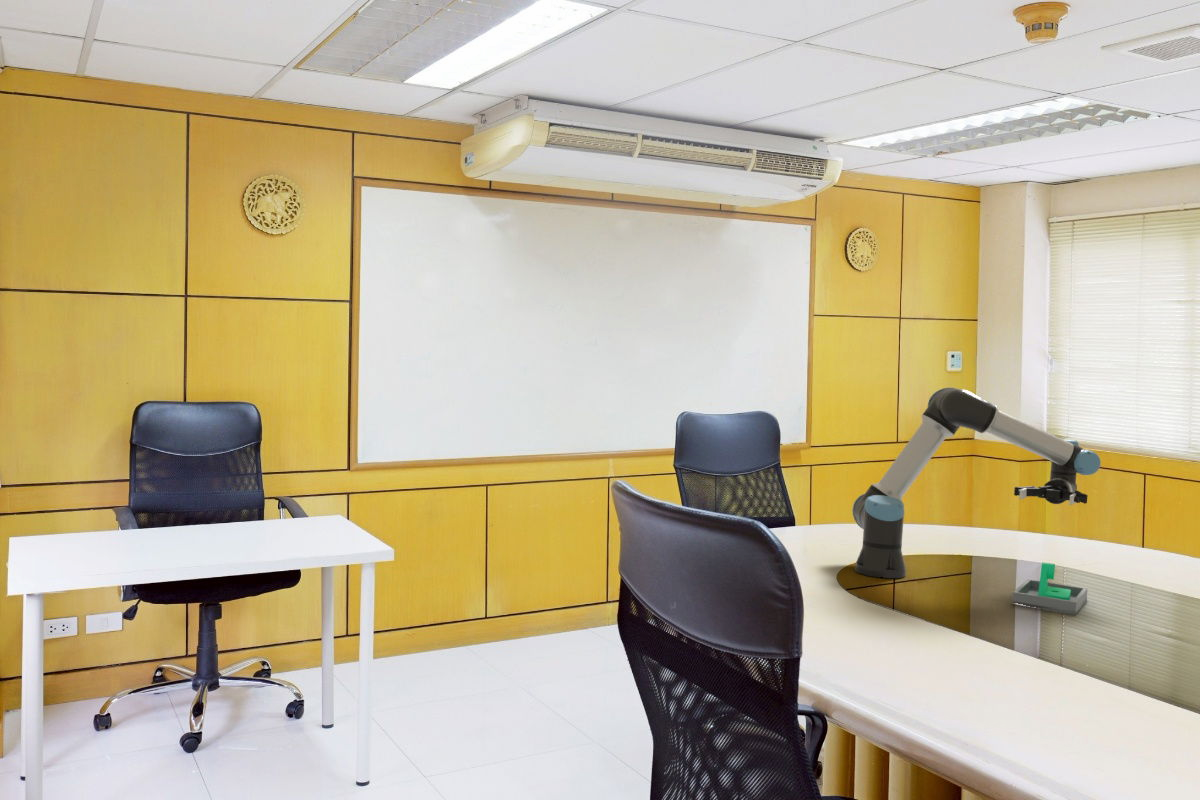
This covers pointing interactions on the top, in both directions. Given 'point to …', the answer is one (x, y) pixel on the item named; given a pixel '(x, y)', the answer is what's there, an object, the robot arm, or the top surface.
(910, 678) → the top surface
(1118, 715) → the top surface
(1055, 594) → the camera mount
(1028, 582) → the tray
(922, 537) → the top surface
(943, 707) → the top surface
